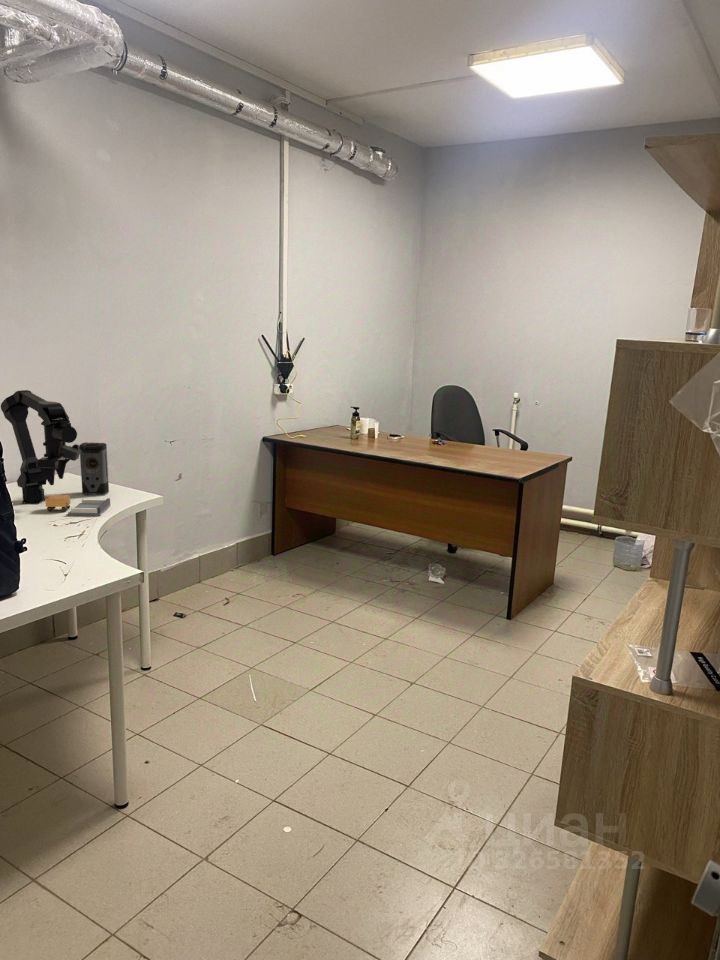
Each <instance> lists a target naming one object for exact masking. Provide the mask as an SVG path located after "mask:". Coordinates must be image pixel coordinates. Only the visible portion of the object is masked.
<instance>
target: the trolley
mask: <svg viewBox="0 0 720 960" xmlns="http://www.w3.org/2000/svg"><path fill="white" fill-rule="evenodd" d="M44 501H45V507H46V510H47V512H52V511H53V510H55V509H56V508H60V509H61V511H62V512H64V513H65V512H67V510H70V509H71V506H70V504H71V502H72V501H71V495H69V494H68V495H67V494H65V495H64V494H63V495H61V494H59V495H58V494H50V495H48V496H47V497H46V498H45V500H44Z"/></svg>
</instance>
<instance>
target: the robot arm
mask: <svg viewBox="0 0 720 960" xmlns="http://www.w3.org/2000/svg"><path fill="white" fill-rule="evenodd" d="M29 408H31V409H33V410H34V411H36V412H37V416H38V418H39V417H40V419H41V420H42V421H41V423H40V425H41V426H43V430H44V431H43V432H44V433H43V434H44V442H43V443H42V445H43V446H44V447H45V449H44V450H45V453H43V456H42V457H41V458H38V457H37V454H36V451H35V446H34V444H33V441H32V437H31V434H30V431H29V426H28V424H27V420H28V419H27V418H28V415H29ZM0 410H1V412H2V413H3V416H4V419H5V420H7V421H8V422H9V423H10V424H11V426H12V429H13V432H14V436H15V440H16V443H17V447H18V450H19V454H20V457H21V461H22V463H21V466H20V469H19V471H20V474H19V476H18V478H17V480H16V484H17V487H18V488H21V492H22V501H21V502H23V503H22V504H36V503H38V504H41V503H42V502H44V501H45V497H46V496H45V489H44V488H43V486H45V485H47V482H48V484H49V486H54V485H55V475H56V474H57V476H58V479H59V480H63V479H64V475H65V471H66V467H67V464H68V463H69V461H73V462H74V461H77V460H78V459H80V453H81V450H80V446H79V445H80V444H76V443H75V444H73V445H72V446H71V445H68V444H72V443H74V442H75V441H76V439H77V437H78V431H77V430H76V428H75V427H73V426H72V423H71V421H70V417H69V415H68V414H67V413H68V412H66V410H65V408H64V406H63V405H62V403H61V402H56V401H49V400H45V399H44V398H42V397H40V396H38V395H36V394H34V393H33V392H32V391H31V390H28V389H26V390H25V389H24V390H23V389H22V390H21V389H20V390H17V391H14V393H13V394H11V395H10V396H7V397H5V398H4V400H2V402H1V403H0ZM67 443H68V444H67ZM66 444H67V445H66ZM24 502H25V503H24Z"/></svg>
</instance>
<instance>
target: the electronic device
mask: <svg viewBox="0 0 720 960" xmlns="http://www.w3.org/2000/svg"><path fill="white" fill-rule="evenodd" d="M78 445H79V447H80V450H81V453H80V455H79V461H80V475H81V476H80V477H81V491H82V495H84V496H106V495H107V494H109V492H110V487H109V469H108V468H109V467H108V464H109V463H108V451H107V449H108V448H107V446H108V445H107V443H105V442H82V443H80V444H78ZM105 494H106V495H105Z"/></svg>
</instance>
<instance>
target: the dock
mask: <svg viewBox="0 0 720 960" xmlns="http://www.w3.org/2000/svg"><path fill="white" fill-rule="evenodd" d="M109 508H111V498H106V499H99V498H98V499H96V498H95V499H88V498H87V499H86V498H84V499H81V502H80V503H78V504H77V505H76V506H74V507H72V508H71V507H70V511H69V512H68V513H67V514H68V515H67V516H71V517H72V516H73V517H74V516H75V517H101V516H102V515H103V514H104V513H105V512H106V511H107V510H108V509H109ZM102 513H103V514H102ZM101 514H102V515H101Z"/></svg>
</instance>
